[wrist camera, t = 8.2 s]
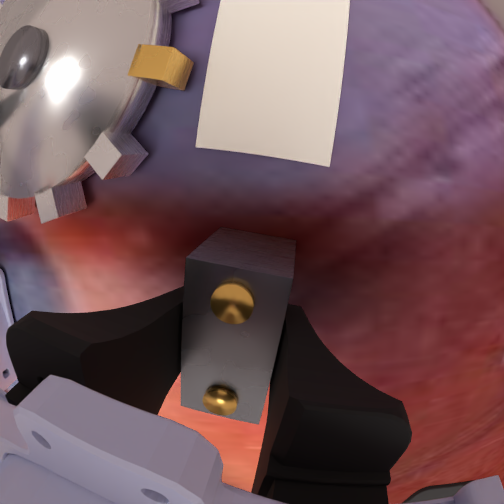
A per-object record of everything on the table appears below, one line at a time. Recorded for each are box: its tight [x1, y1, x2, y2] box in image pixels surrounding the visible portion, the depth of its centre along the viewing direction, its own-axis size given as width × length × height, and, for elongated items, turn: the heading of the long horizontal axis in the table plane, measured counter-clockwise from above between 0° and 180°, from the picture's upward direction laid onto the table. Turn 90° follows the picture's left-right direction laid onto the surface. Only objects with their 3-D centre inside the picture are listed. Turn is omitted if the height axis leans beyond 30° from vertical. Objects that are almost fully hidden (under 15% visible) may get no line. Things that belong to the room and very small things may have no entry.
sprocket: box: [0, 0, 200, 224], centre depth 8 cm, size 15×15×6 cm
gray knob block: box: [181, 227, 296, 424], centre depth 11 cm, size 6×3×4 cm, turn 172°
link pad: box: [195, 0, 350, 167], centre depth 10 cm, size 8×5×1 cm, turn 172°
